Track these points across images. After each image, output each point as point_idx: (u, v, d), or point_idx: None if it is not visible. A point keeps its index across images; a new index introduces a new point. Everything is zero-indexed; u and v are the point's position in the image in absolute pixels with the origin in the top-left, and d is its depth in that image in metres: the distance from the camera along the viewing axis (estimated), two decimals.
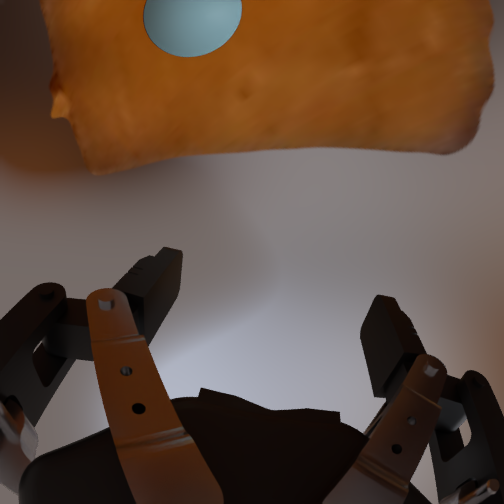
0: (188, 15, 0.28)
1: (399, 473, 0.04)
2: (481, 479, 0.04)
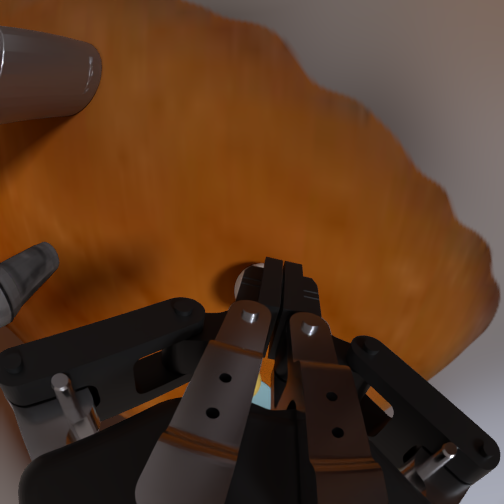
0: None
1: (358, 454, 0.04)
2: (429, 444, 0.05)
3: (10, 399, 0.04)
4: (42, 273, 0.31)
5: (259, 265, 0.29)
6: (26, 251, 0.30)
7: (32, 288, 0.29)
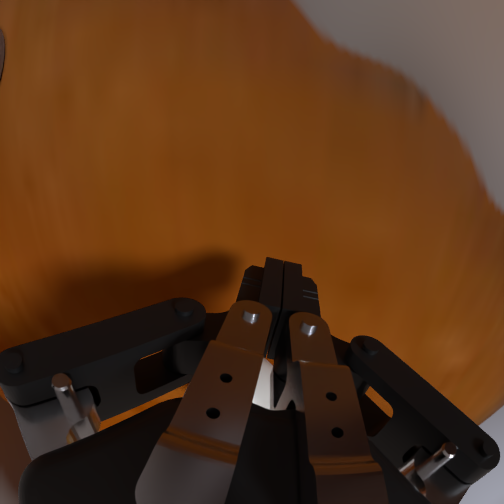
0: None
1: (357, 454, 0.04)
2: (429, 444, 0.05)
3: (11, 399, 0.04)
4: None
5: None
6: None
7: None
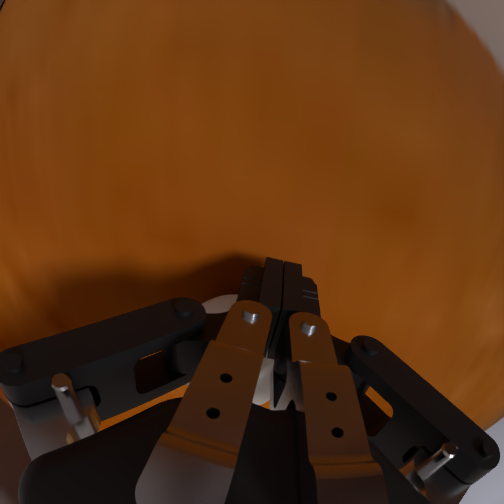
0: None
1: (357, 454, 0.04)
2: (429, 444, 0.05)
3: (11, 399, 0.04)
4: None
5: (229, 302, 0.12)
6: None
7: None
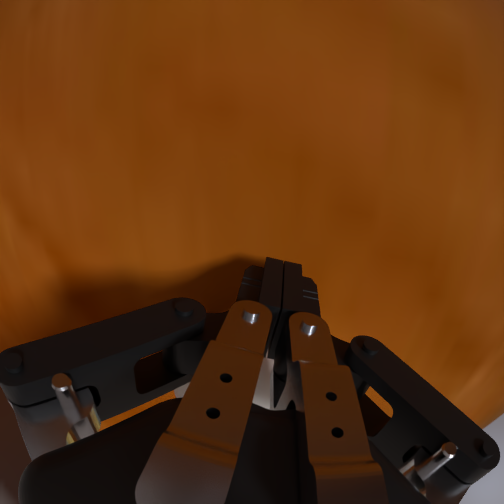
0: None
1: (357, 453, 0.04)
2: (429, 444, 0.05)
3: (10, 399, 0.04)
4: None
5: None
6: None
7: None
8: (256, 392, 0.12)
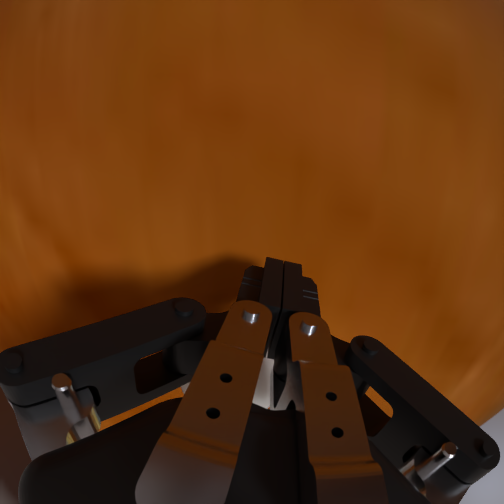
0: None
1: (357, 454, 0.04)
2: (429, 444, 0.05)
3: (10, 399, 0.04)
4: None
5: None
6: None
7: None
8: (258, 382, 0.13)
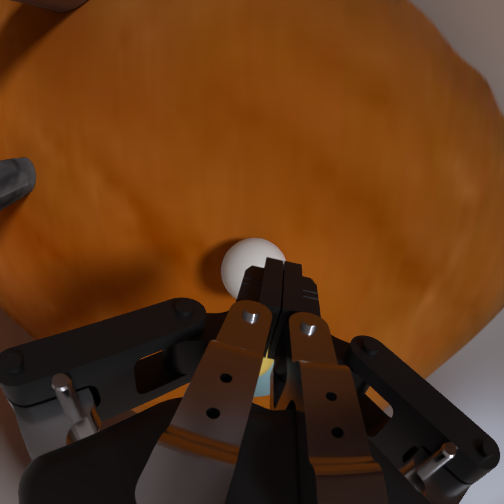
0: None
1: (357, 454, 0.04)
2: (429, 444, 0.05)
3: (11, 399, 0.04)
4: (12, 184, 0.23)
5: None
6: None
7: None
8: None
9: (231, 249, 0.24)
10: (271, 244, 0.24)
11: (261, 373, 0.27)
